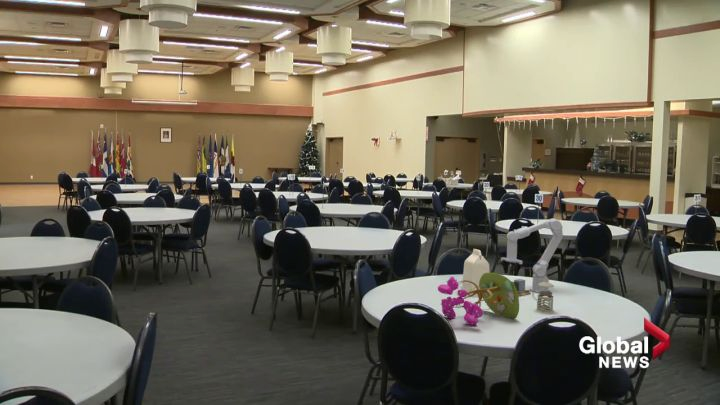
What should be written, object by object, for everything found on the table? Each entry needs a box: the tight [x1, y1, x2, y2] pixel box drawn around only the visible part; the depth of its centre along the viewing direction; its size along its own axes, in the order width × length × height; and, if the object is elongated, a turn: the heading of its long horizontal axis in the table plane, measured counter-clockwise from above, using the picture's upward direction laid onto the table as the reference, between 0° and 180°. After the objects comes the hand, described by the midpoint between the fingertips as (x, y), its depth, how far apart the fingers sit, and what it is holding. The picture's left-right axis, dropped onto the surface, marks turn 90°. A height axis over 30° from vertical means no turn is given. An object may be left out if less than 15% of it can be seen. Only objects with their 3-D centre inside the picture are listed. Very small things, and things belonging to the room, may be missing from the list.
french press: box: [531, 263, 556, 315], centre depth 333 cm, size 10×12×25 cm
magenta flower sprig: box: [437, 272, 520, 326], centre depth 313 cm, size 30×28×35 cm
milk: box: [461, 248, 490, 298], centre depth 369 cm, size 12×12×26 cm
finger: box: [513, 278, 526, 292], centre depth 374 cm, size 4×6×7 cm
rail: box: [510, 280, 532, 297], centre depth 372 cm, size 18×10×8 cm, turn 127°
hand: (511, 274), depth 383 cm, fingers open, 7 cm apart
